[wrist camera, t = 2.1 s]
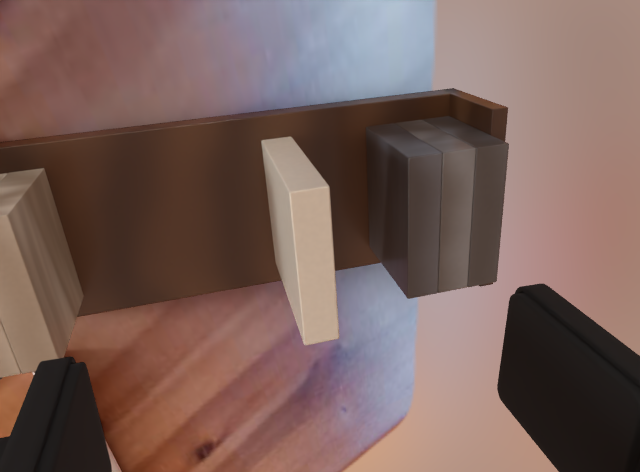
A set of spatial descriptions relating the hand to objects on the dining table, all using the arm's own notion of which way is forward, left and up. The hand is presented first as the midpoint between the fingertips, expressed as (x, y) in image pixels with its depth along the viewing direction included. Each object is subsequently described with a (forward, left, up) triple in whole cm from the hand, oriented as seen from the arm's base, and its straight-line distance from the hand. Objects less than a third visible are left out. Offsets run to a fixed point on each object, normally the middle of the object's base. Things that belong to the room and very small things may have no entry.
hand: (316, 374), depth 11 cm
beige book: (0, +6, -24) cm, 25 cm away
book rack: (+3, +5, -26) cm, 26 cm away
